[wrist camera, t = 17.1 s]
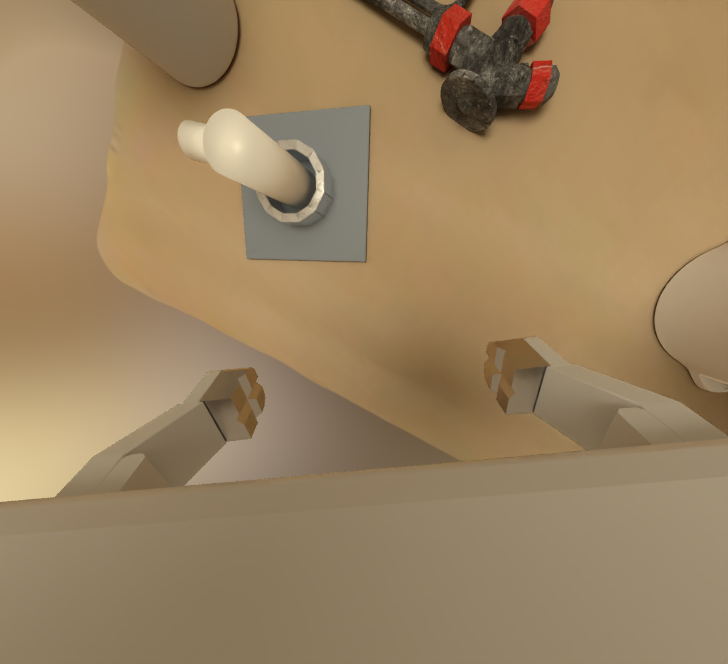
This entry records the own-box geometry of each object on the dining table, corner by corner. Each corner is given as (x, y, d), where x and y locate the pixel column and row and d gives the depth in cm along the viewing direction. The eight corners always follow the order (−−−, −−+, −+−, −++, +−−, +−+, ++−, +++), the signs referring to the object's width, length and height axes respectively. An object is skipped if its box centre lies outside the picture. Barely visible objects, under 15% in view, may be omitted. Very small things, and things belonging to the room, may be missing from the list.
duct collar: (333, 150, 34) (323, 137, 30) (333, 226, 36) (324, 221, 33) (269, 154, 36) (253, 142, 32) (272, 226, 38) (257, 222, 34)
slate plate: (370, 107, 32) (369, 104, 32) (366, 261, 37) (365, 261, 36) (239, 119, 36) (236, 117, 35) (248, 258, 40) (246, 258, 40)
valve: (601, 34, 28) (504, 161, 31) (404, -85, 30) (328, 43, 33) (656, -45, 22) (528, 123, 24) (402, -188, 24) (309, -20, 27)
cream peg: (323, 174, 35) (259, 115, 21) (314, 214, 36) (249, 183, 23) (265, 158, 36) (170, 94, 23) (259, 198, 37) (166, 159, 24)
